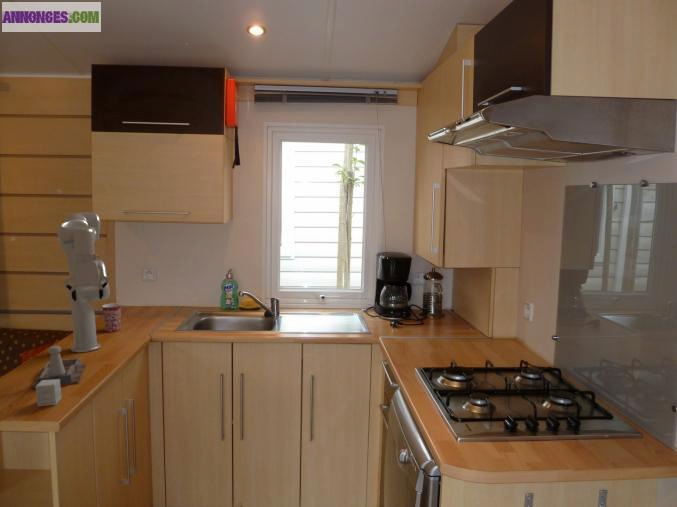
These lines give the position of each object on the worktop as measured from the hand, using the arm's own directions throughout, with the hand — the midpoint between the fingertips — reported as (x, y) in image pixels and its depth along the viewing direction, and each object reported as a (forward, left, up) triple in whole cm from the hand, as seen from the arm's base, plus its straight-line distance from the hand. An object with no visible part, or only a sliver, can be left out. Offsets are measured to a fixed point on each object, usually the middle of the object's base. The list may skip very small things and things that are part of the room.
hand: (88, 299), depth 224 cm
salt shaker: (+16, -11, -28) cm, 33 cm away
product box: (+37, -10, -29) cm, 48 cm away
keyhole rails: (+9, -11, -28) cm, 32 cm away
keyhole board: (+9, -11, -28) cm, 32 cm away
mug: (-60, +4, -28) cm, 67 cm away
